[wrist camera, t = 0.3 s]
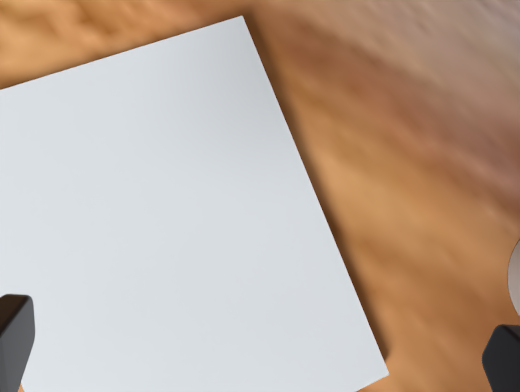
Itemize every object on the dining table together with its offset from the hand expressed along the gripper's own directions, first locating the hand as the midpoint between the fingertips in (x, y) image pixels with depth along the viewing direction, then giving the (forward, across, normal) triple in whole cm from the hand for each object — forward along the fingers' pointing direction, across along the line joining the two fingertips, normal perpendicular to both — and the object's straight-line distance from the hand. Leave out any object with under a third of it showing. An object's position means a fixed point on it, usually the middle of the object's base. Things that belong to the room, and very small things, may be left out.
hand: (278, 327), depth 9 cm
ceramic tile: (+13, +3, +7) cm, 15 cm away
